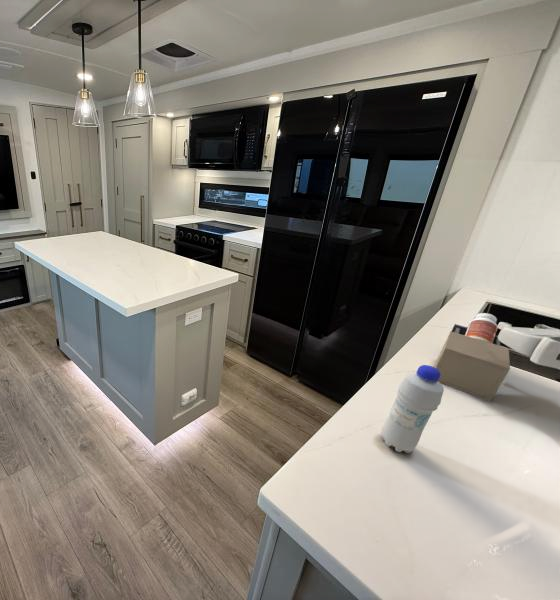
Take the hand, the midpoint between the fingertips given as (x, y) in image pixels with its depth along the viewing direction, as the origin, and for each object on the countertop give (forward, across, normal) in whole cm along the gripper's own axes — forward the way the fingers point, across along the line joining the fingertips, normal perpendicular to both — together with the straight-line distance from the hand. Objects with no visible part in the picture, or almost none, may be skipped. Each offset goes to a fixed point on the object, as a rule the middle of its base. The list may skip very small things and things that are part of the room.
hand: (519, 325), depth 81 cm
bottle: (-25, +42, +19) cm, 52 cm away
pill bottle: (+8, 0, +11) cm, 13 cm away
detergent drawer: (+11, -3, +18) cm, 21 cm away
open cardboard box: (+1, +6, +19) cm, 20 cm away
